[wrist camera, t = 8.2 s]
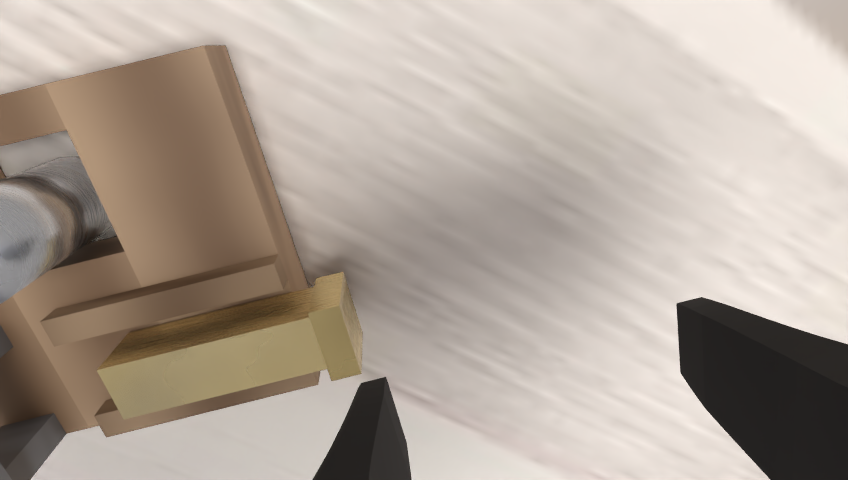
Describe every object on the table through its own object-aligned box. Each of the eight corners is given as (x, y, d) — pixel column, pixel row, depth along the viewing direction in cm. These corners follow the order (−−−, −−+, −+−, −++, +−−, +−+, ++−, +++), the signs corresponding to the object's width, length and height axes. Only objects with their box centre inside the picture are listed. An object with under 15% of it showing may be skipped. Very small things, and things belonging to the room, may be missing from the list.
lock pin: (154, 384, 19) (123, 433, 17) (124, 325, 18) (87, 367, 16) (362, 332, 19) (361, 373, 17) (343, 271, 19) (339, 305, 16)
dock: (29, 409, 22) (-98, 546, 16) (-143, 135, 18) (-407, 181, 12) (325, 336, 22) (308, 444, 16) (225, 45, 18) (151, 45, 12)
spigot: (72, 247, 20) (-45, 326, 14) (16, 179, 19) (-133, 236, 13) (138, 213, 20) (46, 279, 14) (86, 142, 19) (-36, 184, 13)
